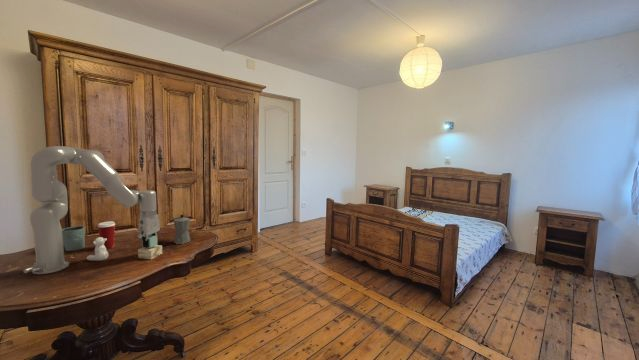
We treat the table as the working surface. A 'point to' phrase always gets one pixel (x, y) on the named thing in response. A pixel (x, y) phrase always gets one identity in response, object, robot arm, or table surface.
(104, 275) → the table surface
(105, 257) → the sitting furry creature
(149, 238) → the teal cube
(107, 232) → the coffee cup
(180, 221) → the coffeepot
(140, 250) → the beech block
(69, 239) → the teal plant pot
